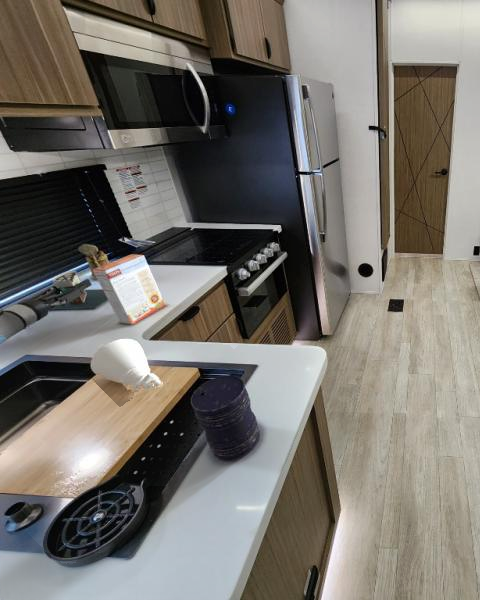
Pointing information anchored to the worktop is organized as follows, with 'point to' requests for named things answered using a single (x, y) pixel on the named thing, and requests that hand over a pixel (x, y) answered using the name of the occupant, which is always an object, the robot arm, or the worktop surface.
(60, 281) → the food container
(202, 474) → the worktop surface
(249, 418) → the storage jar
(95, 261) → the tan yellow lumpy piece
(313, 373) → the worktop surface
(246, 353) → the worktop surface
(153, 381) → the rocket engine
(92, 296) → the side mat
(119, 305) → the cracker box
